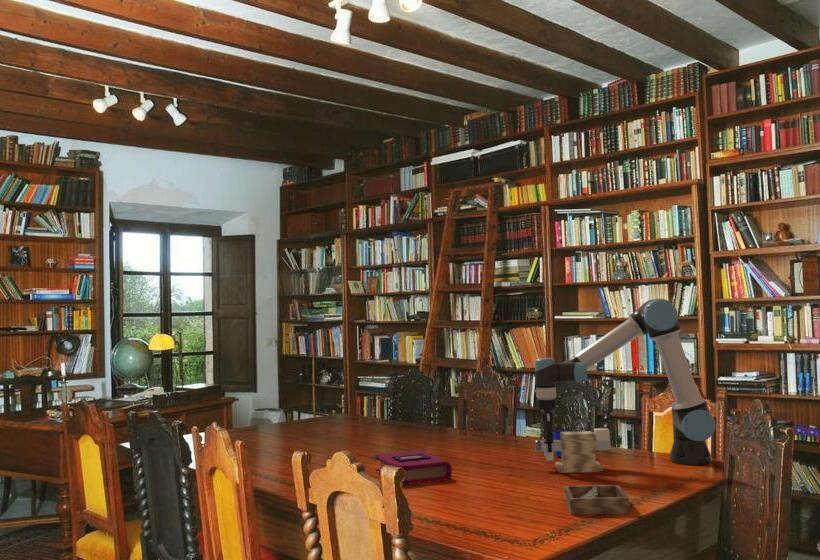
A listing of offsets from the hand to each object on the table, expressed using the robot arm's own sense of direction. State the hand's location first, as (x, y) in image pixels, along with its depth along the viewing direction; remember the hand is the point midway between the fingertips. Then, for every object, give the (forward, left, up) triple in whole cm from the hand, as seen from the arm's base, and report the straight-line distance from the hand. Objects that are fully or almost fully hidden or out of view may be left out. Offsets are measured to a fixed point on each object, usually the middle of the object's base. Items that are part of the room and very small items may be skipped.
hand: (549, 458), depth 284 cm
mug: (-10, -24, -4) cm, 26 cm away
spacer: (-20, 0, +7) cm, 21 cm away
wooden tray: (-9, +57, -4) cm, 58 cm away
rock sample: (-7, +56, -4) cm, 57 cm away
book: (+52, +7, -5) cm, 53 cm away
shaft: (-9, 0, +3) cm, 9 cm away
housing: (-11, 0, -4) cm, 12 cm away
